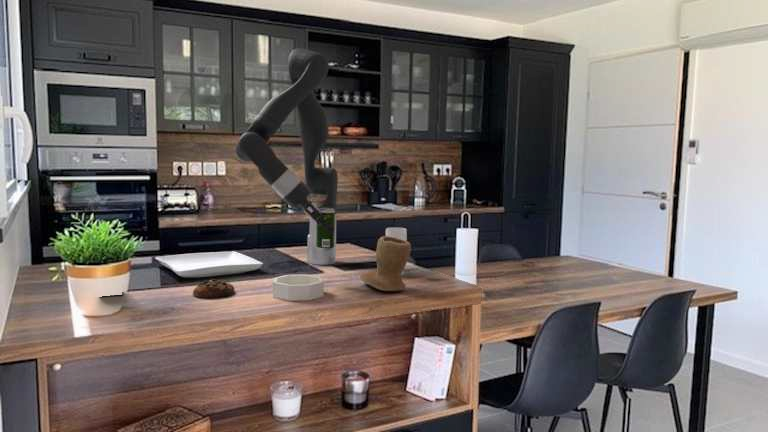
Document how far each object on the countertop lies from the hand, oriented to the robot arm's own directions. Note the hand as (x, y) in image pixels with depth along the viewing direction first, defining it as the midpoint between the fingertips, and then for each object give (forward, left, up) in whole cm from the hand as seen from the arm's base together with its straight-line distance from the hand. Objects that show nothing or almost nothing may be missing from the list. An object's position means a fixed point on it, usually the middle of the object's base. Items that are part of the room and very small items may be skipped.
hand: (331, 229), depth 169 cm
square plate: (-43, -11, -17) cm, 48 cm away
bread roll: (-16, -30, -17) cm, 38 cm away
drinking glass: (+8, +22, -16) cm, 29 cm away
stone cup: (+16, +6, -16) cm, 24 cm away
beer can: (-1, -1, -6) cm, 6 cm away
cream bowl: (+2, -16, -16) cm, 22 cm away
